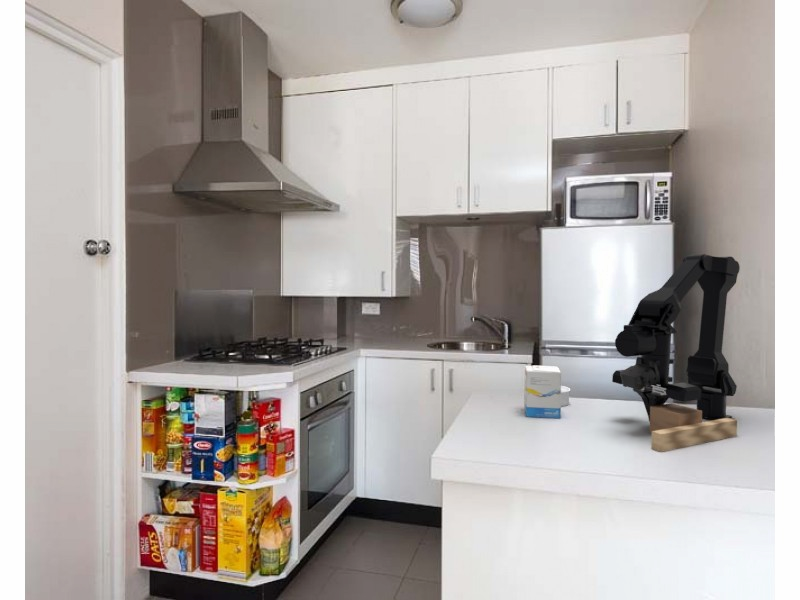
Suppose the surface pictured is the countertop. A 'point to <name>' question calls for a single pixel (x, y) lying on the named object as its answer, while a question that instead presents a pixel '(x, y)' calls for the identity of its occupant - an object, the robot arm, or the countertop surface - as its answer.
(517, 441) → the countertop surface
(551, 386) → the ink box
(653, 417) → the walnut block
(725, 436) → the oak plank
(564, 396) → the ramekin
